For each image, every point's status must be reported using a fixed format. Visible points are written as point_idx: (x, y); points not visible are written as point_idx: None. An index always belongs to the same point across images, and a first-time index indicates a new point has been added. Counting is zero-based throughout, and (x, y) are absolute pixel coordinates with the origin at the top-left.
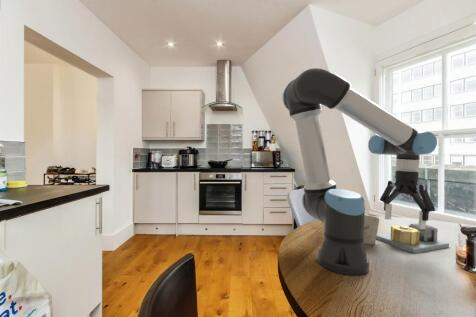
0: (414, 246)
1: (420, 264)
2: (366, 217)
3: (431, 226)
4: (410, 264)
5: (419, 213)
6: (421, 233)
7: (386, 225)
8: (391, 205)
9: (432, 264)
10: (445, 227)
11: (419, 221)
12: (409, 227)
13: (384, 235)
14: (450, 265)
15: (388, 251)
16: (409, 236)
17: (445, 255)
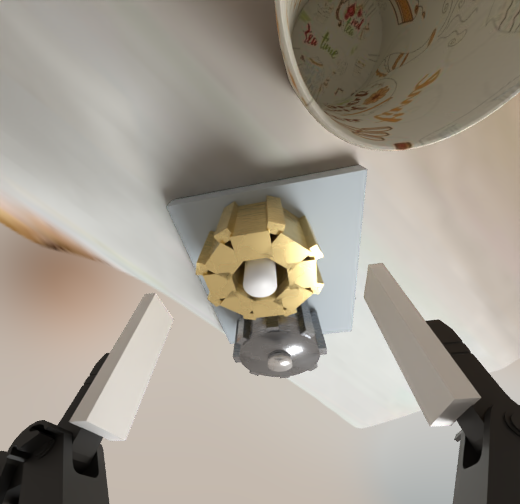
0: (198, 233)
1: (41, 122)
2: (504, 73)
3: (273, 375)
4: (16, 60)
5: (97, 398)
6: (254, 320)
7: (445, 323)
8: (421, 405)
9: (64, 178)
10: (349, 408)
11: (130, 333)
12: (274, 310)
13: (342, 212)
14: (79, 234)
15: (182, 81)
16: (211, 249)
17: (167, 283)
